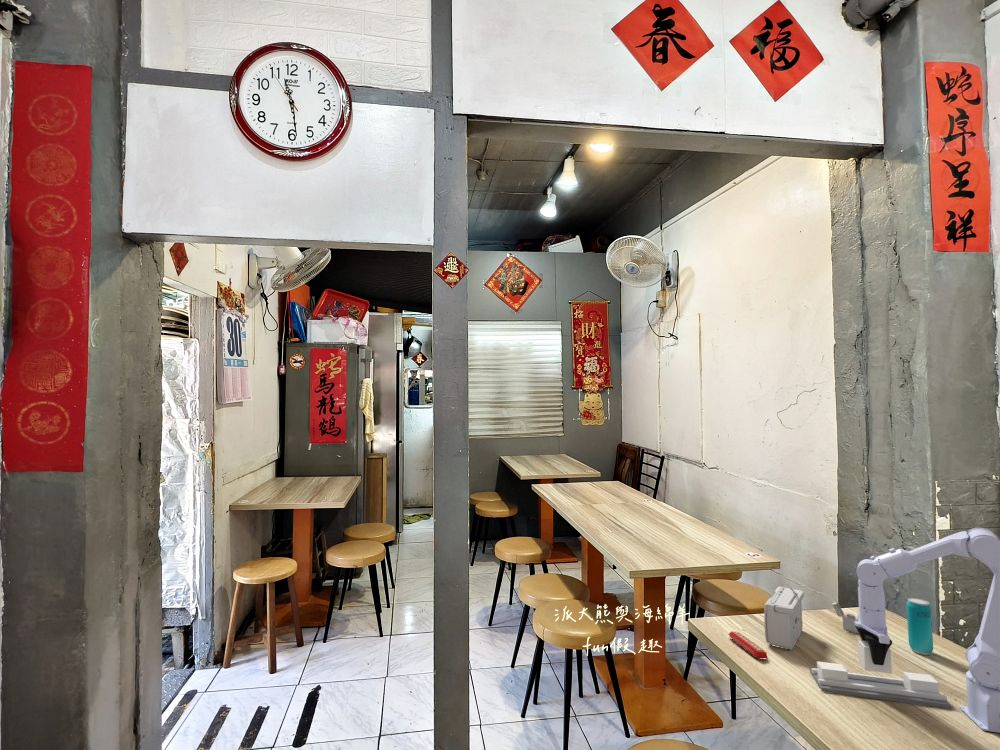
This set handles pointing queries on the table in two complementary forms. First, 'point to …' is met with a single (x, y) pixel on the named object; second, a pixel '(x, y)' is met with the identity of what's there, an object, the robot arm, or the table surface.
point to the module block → (866, 659)
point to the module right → (920, 683)
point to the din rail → (880, 689)
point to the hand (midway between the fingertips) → (874, 660)
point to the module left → (832, 671)
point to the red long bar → (748, 645)
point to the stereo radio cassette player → (783, 617)
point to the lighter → (846, 618)
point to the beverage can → (920, 626)
